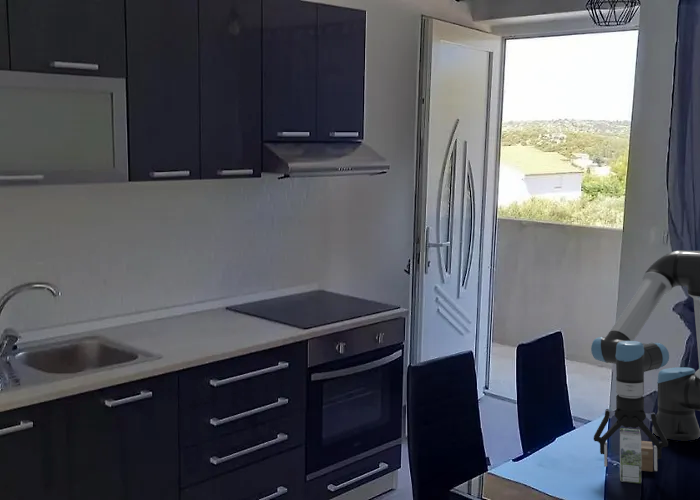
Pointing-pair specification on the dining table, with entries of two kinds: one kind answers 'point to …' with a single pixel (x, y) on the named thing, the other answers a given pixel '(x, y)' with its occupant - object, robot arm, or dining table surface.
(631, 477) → the syrup box
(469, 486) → the dining table surface
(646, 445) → the letter cube
